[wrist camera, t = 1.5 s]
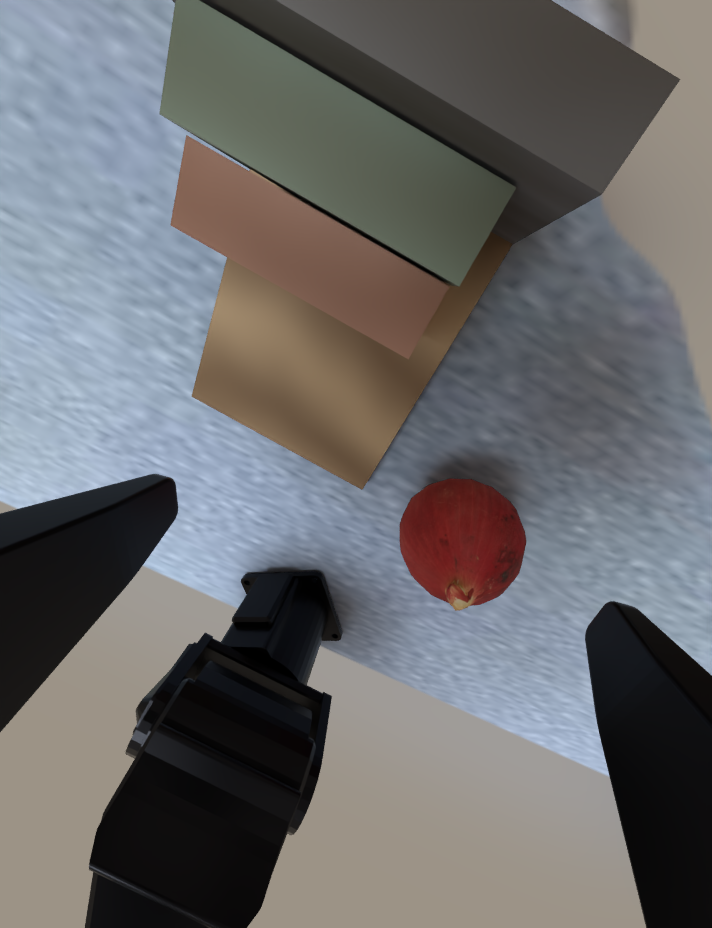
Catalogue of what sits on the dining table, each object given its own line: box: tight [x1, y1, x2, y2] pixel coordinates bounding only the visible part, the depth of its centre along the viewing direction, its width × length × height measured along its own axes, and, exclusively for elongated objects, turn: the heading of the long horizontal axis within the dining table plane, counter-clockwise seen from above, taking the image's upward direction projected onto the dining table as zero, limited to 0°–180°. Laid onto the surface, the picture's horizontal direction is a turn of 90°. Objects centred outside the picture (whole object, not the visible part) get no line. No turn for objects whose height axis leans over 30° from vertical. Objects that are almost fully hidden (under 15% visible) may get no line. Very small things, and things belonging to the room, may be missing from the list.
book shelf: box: [160, 0, 680, 489], centre depth 13 cm, size 15×11×10 cm
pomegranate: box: [400, 479, 526, 610], centre depth 17 cm, size 6×6×8 cm
